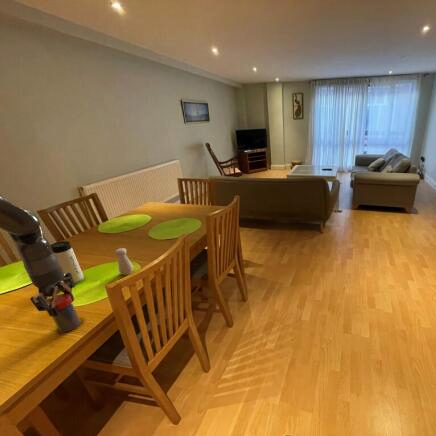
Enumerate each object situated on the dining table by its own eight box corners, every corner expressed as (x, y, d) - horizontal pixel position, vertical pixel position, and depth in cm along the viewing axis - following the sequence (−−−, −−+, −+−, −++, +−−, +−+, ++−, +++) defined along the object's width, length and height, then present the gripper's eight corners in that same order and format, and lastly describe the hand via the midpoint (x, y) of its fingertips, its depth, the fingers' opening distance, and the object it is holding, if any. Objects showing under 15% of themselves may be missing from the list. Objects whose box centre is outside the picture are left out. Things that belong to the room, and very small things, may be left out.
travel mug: (65, 280, 111) (48, 242, 103) (83, 275, 115) (68, 238, 108) (66, 287, 107) (48, 248, 99) (84, 281, 111) (69, 242, 103)
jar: (70, 333, 84) (57, 308, 80) (54, 332, 84) (41, 307, 80) (85, 319, 89) (74, 296, 85) (70, 318, 90) (58, 295, 86)
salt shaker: (137, 270, 119) (130, 247, 114) (127, 277, 114) (119, 253, 109) (127, 268, 120) (120, 245, 115) (117, 275, 115) (109, 251, 110)
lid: (73, 296, 87) (71, 291, 86) (70, 307, 82) (67, 301, 81) (50, 303, 84) (47, 297, 83) (45, 314, 79) (42, 309, 78)
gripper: (37, 280, 71) (59, 323, 78) (72, 255, 84) (88, 293, 91) (9, 283, 70) (33, 325, 77) (49, 257, 83) (67, 295, 90)
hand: (63, 308), depth 84 cm, fingers closed on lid, 6 cm apart
